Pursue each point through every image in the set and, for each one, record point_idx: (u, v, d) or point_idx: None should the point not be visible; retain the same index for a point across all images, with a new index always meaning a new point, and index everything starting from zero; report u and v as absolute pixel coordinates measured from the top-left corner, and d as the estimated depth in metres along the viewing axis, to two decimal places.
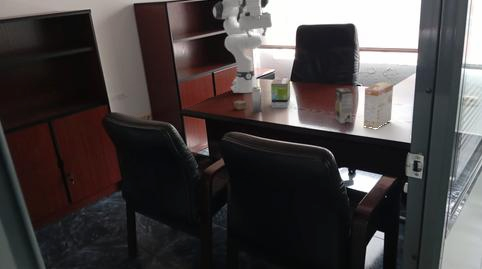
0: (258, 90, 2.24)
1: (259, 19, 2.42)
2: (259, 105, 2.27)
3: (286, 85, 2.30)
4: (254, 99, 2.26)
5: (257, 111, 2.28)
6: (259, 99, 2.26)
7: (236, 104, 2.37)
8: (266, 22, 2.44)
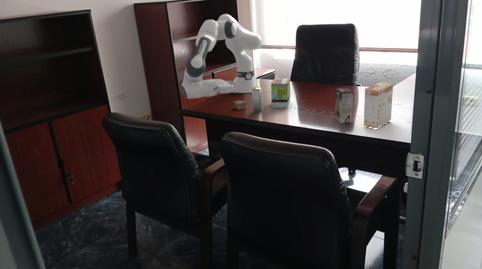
0: (258, 90, 2.24)
1: None
2: (259, 105, 2.27)
3: (286, 85, 2.30)
4: (254, 99, 2.26)
5: (257, 111, 2.28)
6: (259, 99, 2.26)
7: (236, 104, 2.37)
8: None
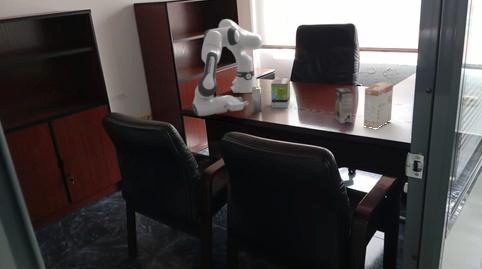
0: (258, 90, 2.24)
1: None
2: (259, 105, 2.27)
3: (286, 85, 2.30)
4: (254, 99, 2.26)
5: (257, 111, 2.28)
6: (259, 99, 2.26)
7: None
8: None
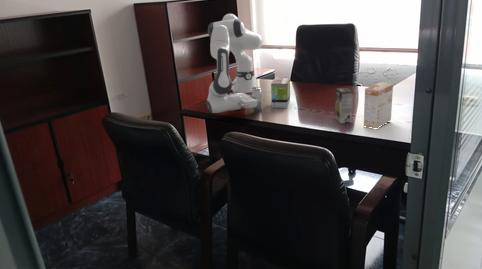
0: (258, 90, 2.24)
1: None
2: (259, 105, 2.27)
3: (286, 85, 2.30)
4: None
5: (257, 111, 2.28)
6: None
7: None
8: None
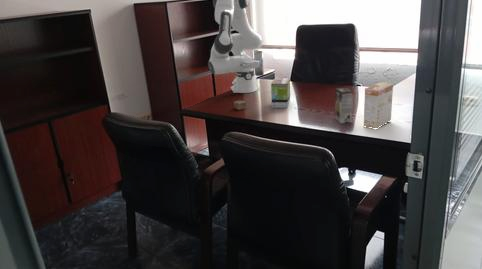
0: (260, 52, 2.24)
1: None
2: (261, 67, 2.27)
3: (286, 85, 2.30)
4: None
5: (259, 74, 2.28)
6: None
7: (236, 104, 2.37)
8: None
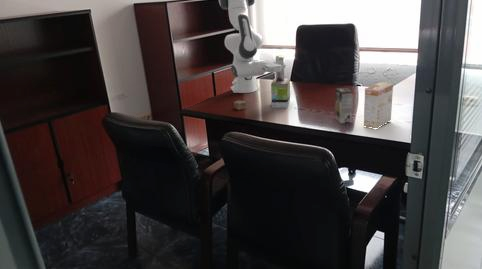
0: (282, 58, 2.30)
1: None
2: (282, 73, 2.33)
3: (286, 85, 2.30)
4: None
5: (280, 79, 2.34)
6: None
7: (236, 104, 2.37)
8: None
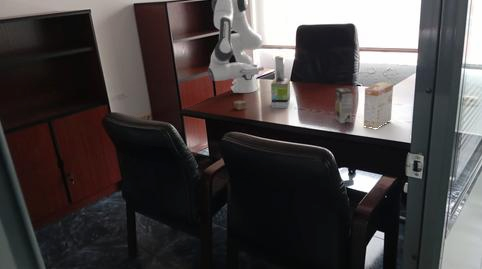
0: (281, 58, 2.30)
1: None
2: (282, 73, 2.33)
3: (286, 85, 2.30)
4: (277, 67, 2.32)
5: (280, 79, 2.34)
6: (282, 67, 2.32)
7: (236, 104, 2.37)
8: None
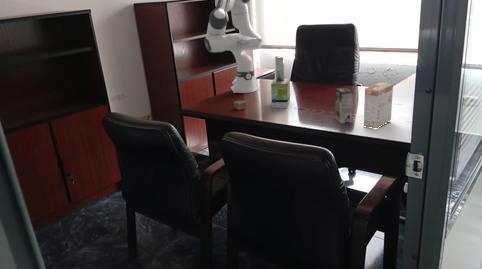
0: (281, 58, 2.30)
1: None
2: (282, 73, 2.33)
3: (286, 85, 2.30)
4: (277, 67, 2.32)
5: (280, 79, 2.34)
6: (282, 67, 2.32)
7: (236, 104, 2.37)
8: None
